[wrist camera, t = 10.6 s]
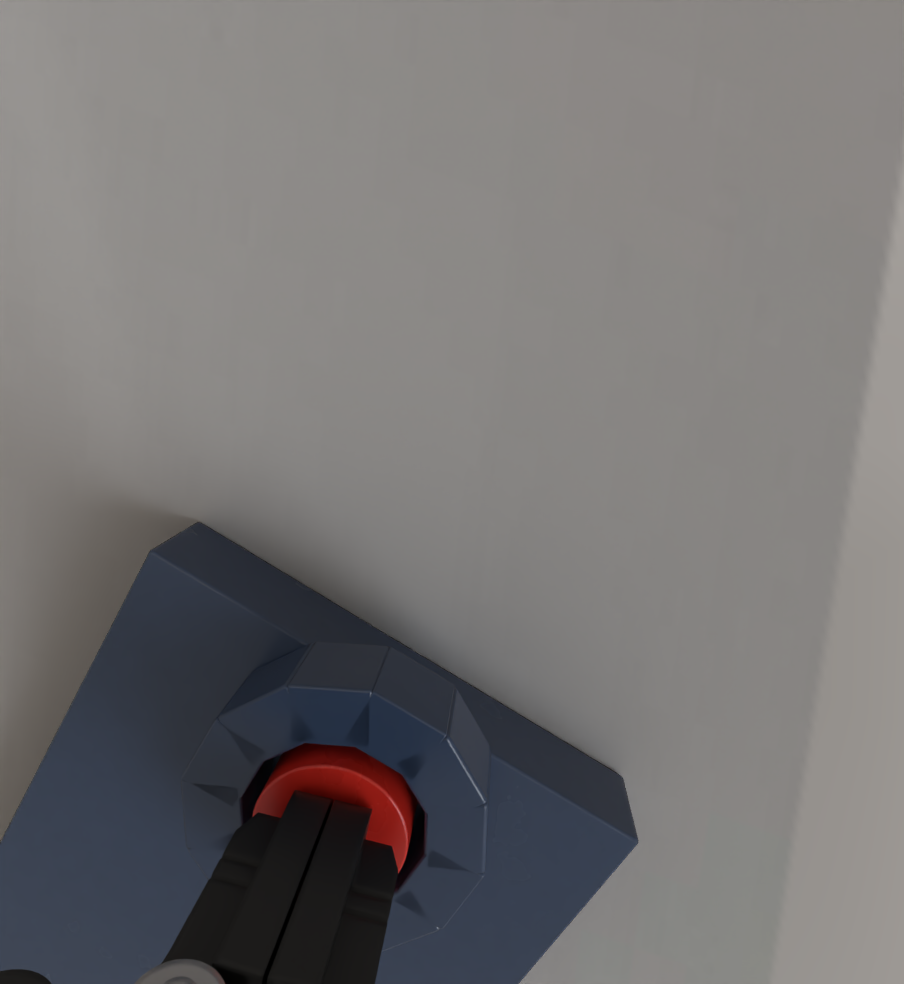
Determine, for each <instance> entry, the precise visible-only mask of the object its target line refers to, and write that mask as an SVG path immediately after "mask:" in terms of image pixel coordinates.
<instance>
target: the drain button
mask: <svg viewBox="0 0 904 984" xmlns="http://www.w3.org/2000/svg"><path fill="white" fill-rule="evenodd" d="M295 790H298V791H302V792H306V793H310V794H314V795H318V796H322V797H326V798H330V799H332V800H333V801H332V806H333V803H334V801H335V800H339V801H343V802H347V803H351V804H355V805H359V806H362V807H366V808H370V809H372V813H371V818H370V822H369V827H368V831H367V836H366V840H370V841H374V842H378V843H382V844H386V845H390V846H392V848H393V852H394V856H395V860H396V864H397V868H398V873H399V871H400V870H401V868H402V866H403V864H404V862H405V859H406V856H407V852H408V848H409V843H410V838H411V833H412V828H413V823H414V818H415V813H416V808H417V803H418V801H417V799H416V797H415V796H414V794H413V793H412V791H411V789H410V788H409V786H408V784H407V783H406V781H405V780H404V778H403V776H402V775H401V774H400V773H398V772H396V771H395V770H393V769H391V768H390V767H388V766H386V765H385V764H383V763H381V762H379V761H378V760H376V759H374V758H373V757H371V756H369V755H368V754H366V753H364V752H363V751H361V750H359V749H357V748H356V747H347V746H334V745H321V744H308V743H304V744H302V745H300V746H298V747H295V748H293V749H291V750H289V751H286V752H284V753H283V754H282V755H281V757H280V759H279V761H278V763H277V765H276V766H275V768H274V770H273V772H272V774H271V776H270V777H269V779H268V781H267V783H266V785H265V787H264V788H263V790H262V792H261V794H260V796H259V798H258V800H257V801H256V804H255V807H254V810H253V816H254V815H256V814H257V813H258V812H259V813H263V814H267V815H271V816H275V817H279V818H281V817H282V815H283V813H284V811H285V808H286V806H287V804H288V802H289V800H290V798H291V796H292V794H293V792H294V791H295ZM253 816H252V817H253Z"/></svg>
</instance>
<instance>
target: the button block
mask: <svg viewBox="0 0 904 984" xmlns="http://www.w3.org/2000/svg"><path fill="white" fill-rule="evenodd" d="M304 743H308V744H321V745H334V746H347V747H356V748H357V749H359V750H361V751H363V752H364V753H366V754H368V755H369V756H371V757H373V758H374V759H376V760H378V761H379V762H381V763H383V764H385V765H386V766H388V767H390V768H391V769H393V770H395V771H396V772H398V773H400V774H401V775H402V776H403V778H404V780H405V781H406V783H407V784H408V786H409V788H410V789H411V791H412V793H413V794H414V796H415V797H416V799H417V801H418V803H417V808H416V813H415V818H414V823H413V828H412V833H411V838H410V843H409V848H408V852H407V856H406V859H405V862H404V864H403V866H402V868H401V870H400V871H399V873H398V875H397V880H396V885H395V890H394V894H393V899H392V904H391V909H390V914H389V918H388V923H387V928H386V933H385V937H384V942H383V947H382V952H381V957H380V961H379V966H378V971H377V976H376V981H375V984H519V983H520V981H521V980H522V979H523V978H524V977H525V975H526V974H527V973H528V972H529V971H530V970H531V968H532V967H533V966H534V965H535V964H536V963H537V961H538V960H539V959H540V958H541V957H542V955H543V954H544V953H545V952H546V951H547V950H548V948H549V947H550V946H551V945H552V944H553V943H554V941H555V940H556V939H557V938H558V937H559V936H560V934H561V933H562V932H563V931H564V930H565V928H566V927H567V926H568V925H569V924H570V923H571V921H572V920H573V919H574V918H575V917H576V916H577V914H578V913H579V912H580V911H581V910H582V908H583V907H584V906H585V905H586V904H587V903H588V901H589V900H590V899H591V898H592V897H593V896H594V894H595V893H596V892H597V891H598V890H599V888H600V887H601V886H602V885H603V884H604V883H605V881H606V880H607V879H608V878H609V877H610V876H611V874H612V873H613V872H614V871H615V870H616V869H617V867H618V866H619V865H620V864H621V863H622V861H623V860H624V859H625V858H626V857H627V856H628V854H629V853H630V852H631V851H632V850H633V849H634V847H635V846H636V845H637V844H638V837H637V833H636V829H635V825H634V821H633V817H632V813H631V809H630V805H629V801H628V796H627V792H626V788H625V784H624V780H623V778H622V776H620V775H619V774H617V773H615V772H614V771H612V770H610V769H609V768H607V767H605V766H604V765H602V764H600V763H599V762H597V761H595V760H594V759H592V758H590V757H589V756H587V755H585V754H584V753H582V752H580V751H579V750H577V749H575V748H574V747H572V746H570V745H569V744H567V743H565V742H564V741H562V740H560V739H559V738H557V737H555V736H554V735H552V734H550V733H549V732H547V731H545V730H544V729H542V728H541V727H539V726H537V725H536V724H534V723H532V722H531V721H529V720H527V719H526V718H524V717H522V716H521V715H519V714H517V713H516V712H514V711H512V710H511V709H509V708H507V707H506V706H504V705H502V704H501V703H499V702H497V701H496V700H494V699H492V698H491V697H489V696H487V695H486V694H484V693H482V692H481V691H479V690H477V689H476V688H474V687H472V686H471V685H469V684H467V683H466V682H464V681H462V680H461V679H459V678H457V677H456V676H454V675H452V674H451V673H449V672H448V671H446V670H444V669H443V668H441V667H439V666H438V665H436V664H434V663H433V662H431V661H429V660H428V659H426V658H424V657H423V656H421V655H419V654H418V653H416V652H414V651H413V650H411V649H409V648H408V647H406V646H404V645H403V644H401V643H399V642H398V641H396V640H394V639H393V638H391V637H389V636H388V635H386V634H384V633H383V632H381V631H379V630H378V629H376V628H374V627H373V626H371V625H369V624H368V623H366V622H364V621H363V620H361V619H359V618H358V617H356V616H355V615H353V614H351V613H350V612H348V611H346V610H345V609H343V608H341V607H340V606H338V605H336V604H335V603H333V602H331V601H330V600H328V599H326V598H325V597H323V596H321V595H320V594H318V593H316V592H315V591H313V590H311V589H310V588H308V587H306V586H305V585H303V584H301V583H300V582H298V581H296V580H295V579H293V578H291V577H290V576H288V575H286V574H285V573H283V572H281V571H280V570H278V569H276V568H275V567H273V566H271V565H270V564H268V563H267V562H265V561H263V560H262V559H260V558H258V557H257V556H255V555H253V554H252V553H250V552H248V551H247V550H245V549H243V548H242V547H240V546H238V545H237V544H235V543H233V542H232V541H230V540H228V539H227V538H225V537H223V536H222V535H220V534H218V533H217V532H215V531H213V530H212V529H210V528H208V527H207V526H205V525H203V524H202V523H200V522H197V523H195V524H193V525H192V526H190V527H188V528H187V529H185V530H183V531H182V532H180V533H178V534H177V535H175V536H173V537H172V538H170V539H169V540H167V541H165V542H164V543H162V544H160V545H159V546H157V547H155V548H154V549H152V550H151V551H150V552H149V554H148V555H147V557H146V559H145V561H144V563H143V565H142V567H141V569H140V571H139V573H138V575H137V577H136V579H135V581H134V583H133V585H132V587H131V589H130V590H129V592H128V594H127V596H126V598H125V600H124V602H123V604H122V606H121V608H120V610H119V612H118V614H117V616H116V618H115V620H114V622H113V624H112V625H111V627H110V629H109V631H108V633H107V635H106V637H105V639H104V641H103V643H102V645H101V647H100V649H99V651H98V653H97V655H96V657H95V659H94V661H93V662H92V664H91V666H90V668H89V670H88V672H87V674H86V676H85V678H84V680H83V682H82V684H81V686H80V688H79V690H78V692H77V694H76V696H75V697H74V699H73V701H72V703H71V705H70V707H69V709H68V711H67V713H66V715H65V717H64V719H63V721H62V723H61V725H60V727H59V729H58V731H57V732H56V734H55V736H54V738H53V740H52V742H51V744H50V746H49V748H48V750H47V752H46V754H45V756H44V758H43V760H42V762H41V764H40V766H39V767H38V769H37V771H36V773H35V775H34V777H33V779H32V781H31V783H30V785H29V787H28V789H27V791H26V793H25V795H24V797H23V799H22V801H21V803H20V804H19V806H18V808H17V810H16V812H15V814H14V816H13V818H12V820H11V822H10V824H9V826H8V828H7V830H6V832H5V834H4V836H3V838H2V839H1V841H0V971H5V970H11V969H24V970H31V971H34V972H37V973H39V974H41V975H43V976H44V977H46V978H47V979H48V980H49V981H50V982H51V984H134V983H135V982H136V981H137V980H138V979H139V978H140V977H141V976H142V975H143V974H145V973H146V972H148V971H149V970H150V969H152V968H154V967H156V966H158V965H160V964H161V963H162V962H163V960H164V959H165V957H166V956H167V954H168V952H169V951H170V949H171V947H172V945H173V943H174V942H175V940H176V938H177V936H178V934H179V933H180V931H181V929H182V927H183V925H184V923H185V922H186V920H187V918H188V916H189V914H190V913H191V911H192V909H193V907H194V905H195V904H196V902H197V900H198V898H199V896H200V895H201V893H202V891H203V889H204V887H205V885H206V884H207V882H208V880H209V879H210V878H211V876H212V873H213V871H214V869H215V867H216V866H217V864H218V862H219V860H220V859H221V858H222V856H223V853H224V851H225V849H226V847H227V846H228V844H229V842H230V840H231V838H232V837H233V835H234V833H235V831H236V830H237V829H238V828H239V827H241V826H242V825H243V824H244V823H246V822H247V821H248V820H249V819H251V818H252V816H253V810H254V807H255V804H256V801H257V800H258V798H259V796H260V794H261V792H262V790H263V788H264V787H265V785H266V783H267V781H268V779H269V777H270V776H271V774H272V772H273V770H274V768H275V766H276V765H277V763H278V761H279V759H280V757H281V755H282V754H283V753H284V752H286V751H289V750H291V749H293V748H295V747H298V746H300V745H302V744H304Z"/></svg>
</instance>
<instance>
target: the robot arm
mask: <svg viewBox="0 0 904 984" xmlns="http://www.w3.org/2000/svg"><path fill="white" fill-rule="evenodd" d="M332 801H333V800H332V799H330V798H326V797H322V796H318V795H314V794H310V793H306V792H302V791H298V790H295V791H294V792H293V794H292V796H291V798H290V800H289V802H288V804H287V806H286V808H285V811H284V813H283V815H282V817H281V818H279V817H275V816H271V815H267V814H263V813H259V812H258V813H257V814H256V815H254V816H253V817H252V818H251V819H249V820H248V821H247V822H246V823H244V824H243V825H242V826H241V827H239V828H238V829H237V830H236V831H235V833H234V835H233V837H232V838H231V840H230V842H229V844H228V846H227V847H226V849H225V851H224V853H223V856H222V858H221V859H220V860H219V862H218V864H217V866H216V867H215V869H214V871H213V873H212V876H211V878H210V879H209V880H208V882H207V884H206V885H205V887H204V889H203V891H202V893H201V895H200V896H199V898H198V900H197V902H196V904H195V905H194V907H193V909H192V911H191V913H190V914H189V916H188V918H187V920H186V922H185V923H184V925H183V927H182V929H181V931H180V933H179V934H178V936H177V938H176V940H175V942H174V943H173V945H172V947H171V949H170V951H169V952H168V954H167V956H166V957H165V959H164V960H163V962H162V963H161V964H160V965H158V966H156V967H154V968H152V969H150V970H149V971H148V972H146V973H145V974H143V975H142V976H141V977H140V978H139V979H138V980H137V981H136V982H135V983H134V984H375V981H376V976H377V971H378V966H379V961H380V957H381V952H382V947H383V942H384V937H385V933H386V928H387V923H388V918H389V914H390V909H391V904H392V899H393V894H394V890H395V885H396V880H397V875H398V868H397V864H396V860H395V856H394V852H393V848H392V846H390V845H386V844H382V843H378V842H374V841H370V840H366V836H367V831H368V827H369V822H370V818H371V813H372V809H370V808H366V807H362V806H359V805H355V804H351V803H347V802H343V801H339V800H335V801H334V803H333V806H332ZM0 984H51V982H50V981H49V980H48V979H47V978H46V977H44V976H43V975H41V974H39V973H37V972H34V971H31V970H24V969H11V970H5V971H0Z"/></svg>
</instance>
